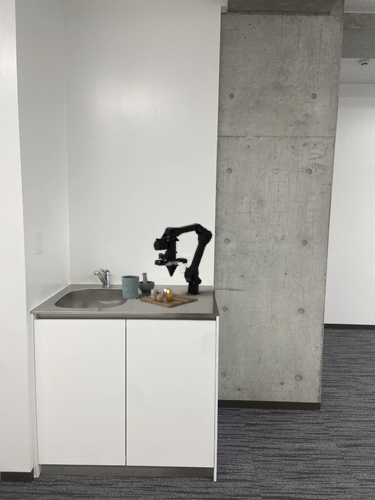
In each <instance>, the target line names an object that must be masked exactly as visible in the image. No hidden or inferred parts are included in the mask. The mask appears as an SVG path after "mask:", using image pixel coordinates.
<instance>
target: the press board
mask: <svg viewBox="0 0 375 500" xmlns="http://www.w3.org/2000/svg"><path fill="white" fill-rule="evenodd" d="M157 293H158V289H156V288H154V289H151V294H150V295H149V296H147V297H142V298H139V302H142V303H147V304H151V305H155V306H159V307H164V308H168V309H169V308H174V307H178V306H181V305H186V304H189V303H193V302H197V301H198V298H197V297H192V296H189V295H184V294H178V293H174V292H172V301H171V302H167V301H166V298H165V296H163V293H159V294H157ZM158 295H162V296H163V300H162V301H158V300H157V296H158Z"/></svg>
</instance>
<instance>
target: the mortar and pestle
mask: <svg viewBox="0 0 375 500" xmlns="http://www.w3.org/2000/svg"><path fill="white" fill-rule="evenodd" d="M147 273H148V272H142V274H141V276H142V280H139V288H138V290H140V294H141V295H142V296H146V295H147V296H151V289H155V284H156V283H155V281H153V280H148V276H147Z"/></svg>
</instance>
